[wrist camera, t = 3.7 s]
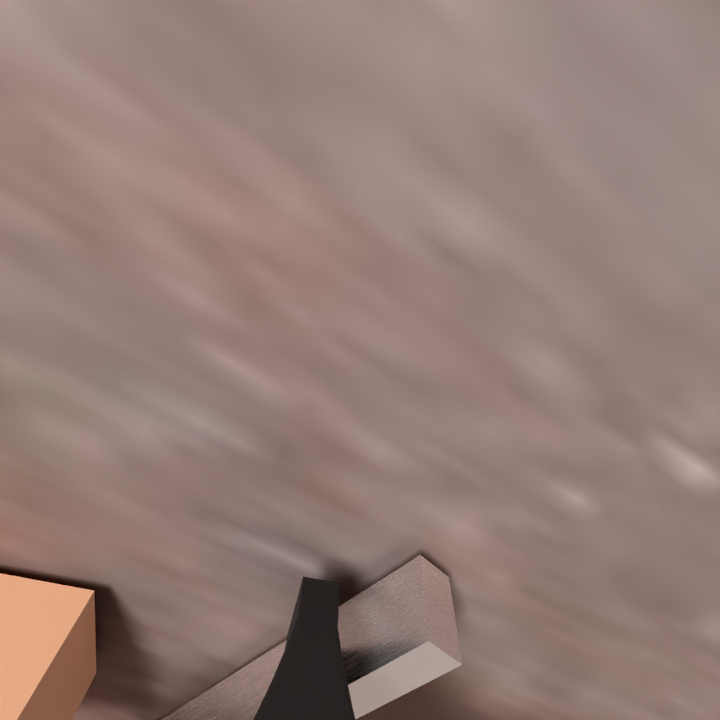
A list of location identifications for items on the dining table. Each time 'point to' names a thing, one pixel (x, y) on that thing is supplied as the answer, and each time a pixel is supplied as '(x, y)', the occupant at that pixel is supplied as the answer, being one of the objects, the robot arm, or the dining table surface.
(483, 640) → the dining table surface
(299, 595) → the robot arm
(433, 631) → the bar
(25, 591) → the light orange square block
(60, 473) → the dining table surface
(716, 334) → the dining table surface
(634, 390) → the dining table surface
